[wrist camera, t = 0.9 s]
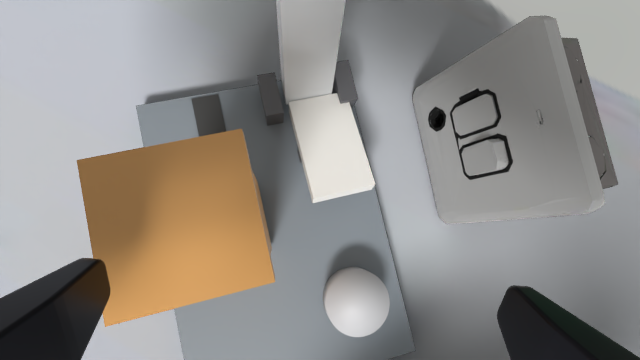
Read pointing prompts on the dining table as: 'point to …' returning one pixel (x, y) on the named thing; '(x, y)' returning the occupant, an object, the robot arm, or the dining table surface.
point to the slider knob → (176, 223)
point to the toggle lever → (308, 46)
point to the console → (291, 243)
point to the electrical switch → (515, 130)
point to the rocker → (330, 147)
